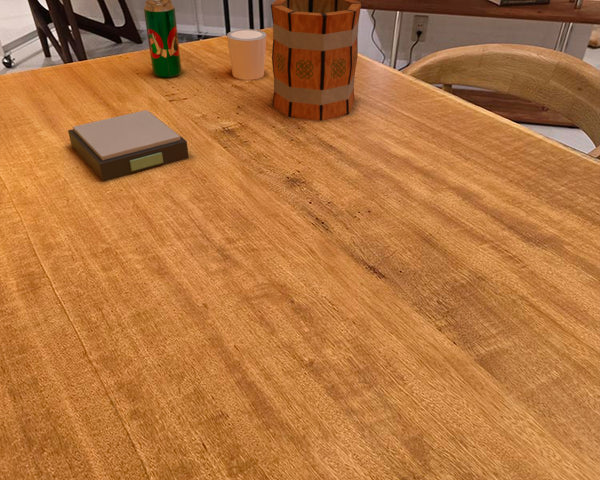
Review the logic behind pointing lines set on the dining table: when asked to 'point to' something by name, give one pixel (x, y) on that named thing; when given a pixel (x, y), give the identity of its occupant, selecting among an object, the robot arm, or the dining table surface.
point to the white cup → (247, 53)
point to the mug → (314, 57)
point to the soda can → (162, 38)
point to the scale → (127, 144)
